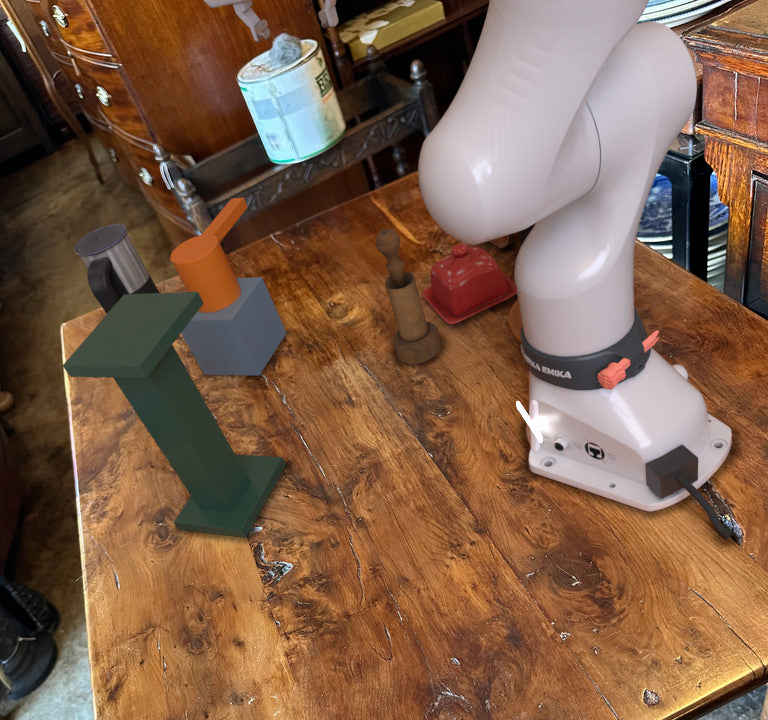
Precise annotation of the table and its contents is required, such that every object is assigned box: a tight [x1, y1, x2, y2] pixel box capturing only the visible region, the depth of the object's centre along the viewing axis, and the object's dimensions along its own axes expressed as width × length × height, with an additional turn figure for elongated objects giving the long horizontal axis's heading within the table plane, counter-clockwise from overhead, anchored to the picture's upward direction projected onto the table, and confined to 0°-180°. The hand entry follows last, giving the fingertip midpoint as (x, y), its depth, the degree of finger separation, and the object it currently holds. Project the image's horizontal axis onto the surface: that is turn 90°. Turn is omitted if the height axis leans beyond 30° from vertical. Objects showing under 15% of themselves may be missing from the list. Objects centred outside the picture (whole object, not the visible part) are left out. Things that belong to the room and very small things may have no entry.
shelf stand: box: [62, 291, 287, 539], centre depth 90 cm, size 12×10×26 cm
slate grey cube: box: [180, 276, 287, 377], centre depth 117 cm, size 10×10×10 cm
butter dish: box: [421, 243, 517, 325], centre depth 111 cm, size 12×12×8 cm
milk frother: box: [73, 223, 161, 315], centre depth 130 cm, size 14×16×15 cm
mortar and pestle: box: [375, 228, 443, 365], centre depth 102 cm, size 7×6×18 cm
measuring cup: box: [169, 197, 248, 313], centre depth 113 cm, size 17×7×8 cm, turn 160°
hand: (296, 32), depth 95 cm, fingers open, 8 cm apart
